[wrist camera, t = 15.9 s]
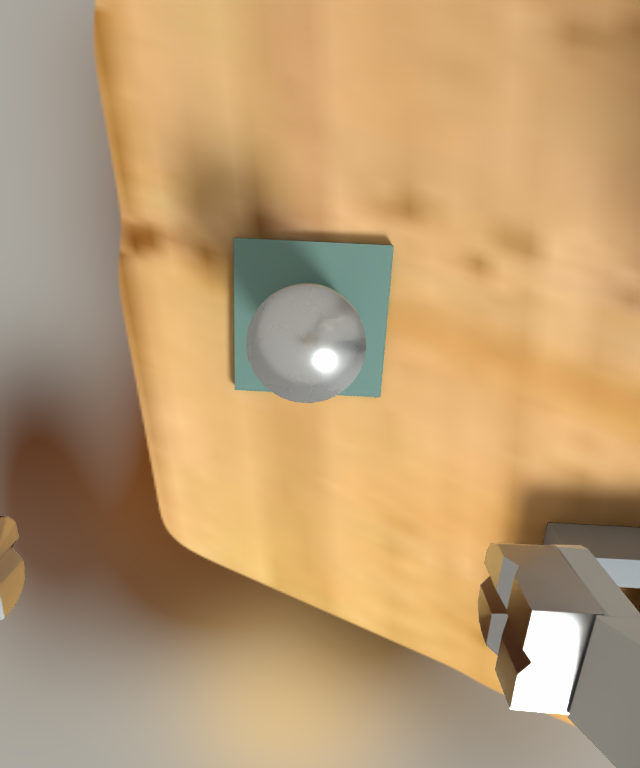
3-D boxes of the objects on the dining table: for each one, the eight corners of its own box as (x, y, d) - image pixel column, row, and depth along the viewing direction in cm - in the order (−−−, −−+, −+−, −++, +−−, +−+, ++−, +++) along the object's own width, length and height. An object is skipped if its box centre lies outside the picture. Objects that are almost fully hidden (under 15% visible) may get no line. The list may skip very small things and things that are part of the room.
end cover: (264, 271, 30) (245, 282, 24) (362, 276, 30) (370, 288, 24) (263, 365, 32) (246, 399, 26) (355, 370, 32) (361, 405, 25)
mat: (235, 237, 30) (233, 237, 30) (392, 245, 30) (393, 245, 30) (236, 387, 33) (234, 389, 33) (379, 394, 33) (380, 397, 33)
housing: (547, 522, 36) (573, 556, 32) (694, 530, 36) (737, 565, 32) (522, 637, 39) (543, 681, 35) (656, 645, 39) (691, 689, 35)
